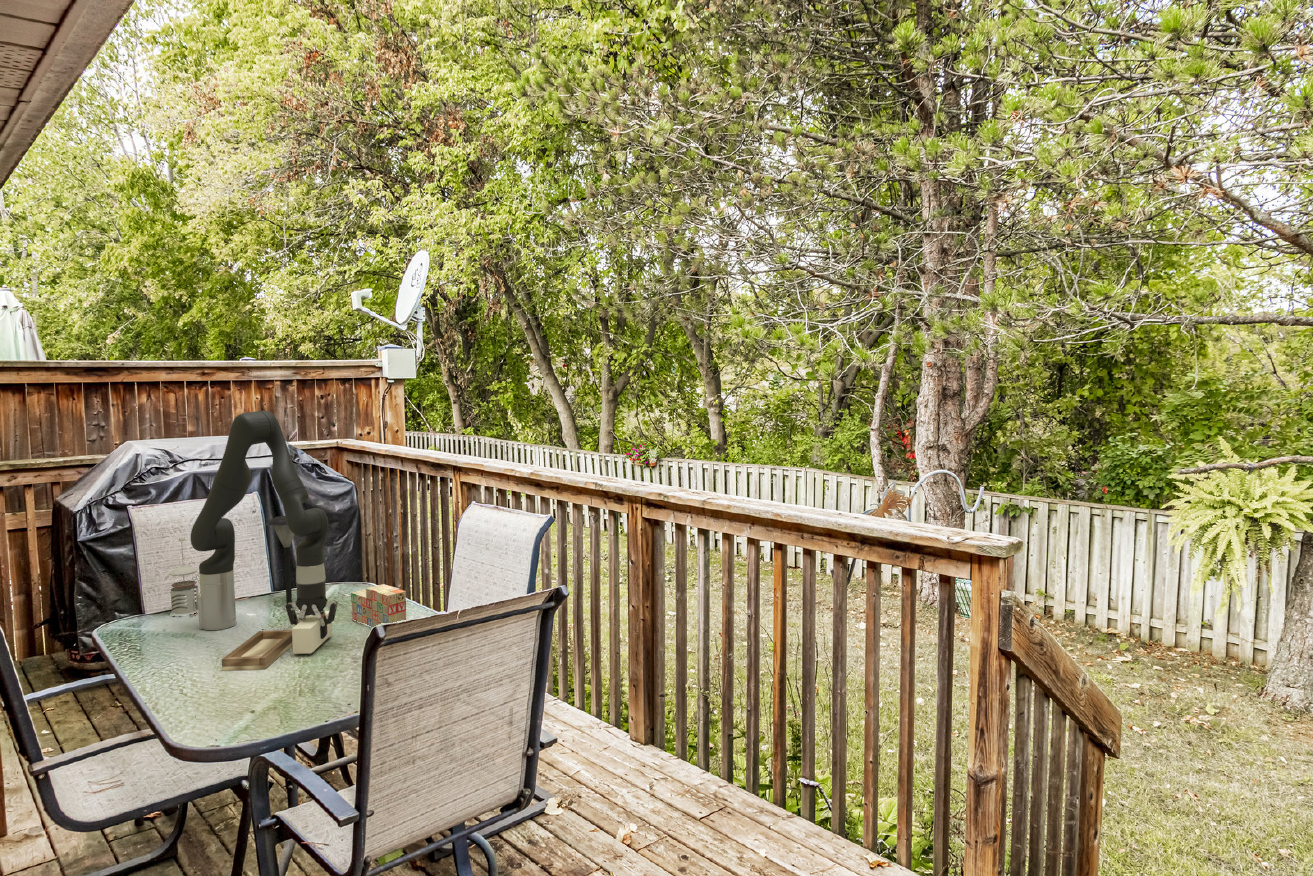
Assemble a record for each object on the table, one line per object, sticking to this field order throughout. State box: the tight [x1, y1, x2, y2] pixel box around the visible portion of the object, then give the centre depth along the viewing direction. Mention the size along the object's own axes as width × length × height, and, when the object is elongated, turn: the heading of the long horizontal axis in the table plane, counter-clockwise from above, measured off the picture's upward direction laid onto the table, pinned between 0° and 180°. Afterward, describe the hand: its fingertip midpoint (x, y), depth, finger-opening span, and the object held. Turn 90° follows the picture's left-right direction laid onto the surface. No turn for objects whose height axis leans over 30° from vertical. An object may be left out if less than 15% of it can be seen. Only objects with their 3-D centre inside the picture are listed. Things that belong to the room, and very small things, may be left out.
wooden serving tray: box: [221, 629, 293, 671], centre depth 218 cm, size 11×23×3 cm, turn 4°
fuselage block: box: [291, 610, 333, 655], centre depth 224 cm, size 5×16×7 cm, turn 3°
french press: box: [168, 536, 201, 614], centre depth 256 cm, size 10×12×25 cm
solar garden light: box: [265, 515, 296, 606], centre depth 264 cm, size 12×12×30 cm
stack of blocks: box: [350, 583, 407, 627], centre depth 242 cm, size 21×6×12 cm, turn 50°
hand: (313, 638), depth 224 cm, fingers closed on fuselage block, 5 cm apart
